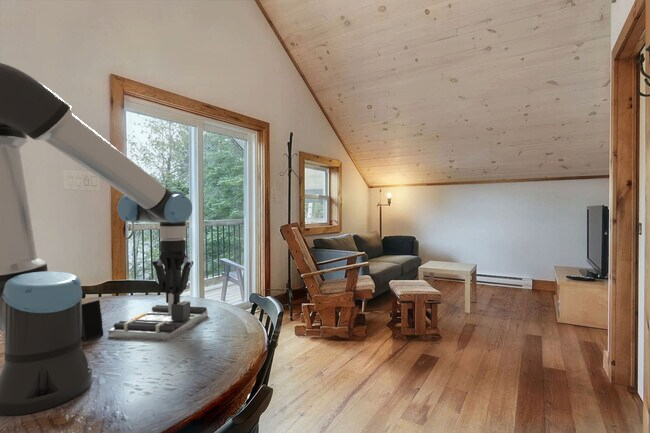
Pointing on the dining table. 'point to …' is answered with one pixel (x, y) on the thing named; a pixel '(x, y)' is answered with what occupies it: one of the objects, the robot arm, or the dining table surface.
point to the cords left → (146, 325)
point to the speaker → (91, 320)
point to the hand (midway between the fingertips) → (172, 313)
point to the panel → (157, 318)
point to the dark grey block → (180, 311)
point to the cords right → (192, 309)
